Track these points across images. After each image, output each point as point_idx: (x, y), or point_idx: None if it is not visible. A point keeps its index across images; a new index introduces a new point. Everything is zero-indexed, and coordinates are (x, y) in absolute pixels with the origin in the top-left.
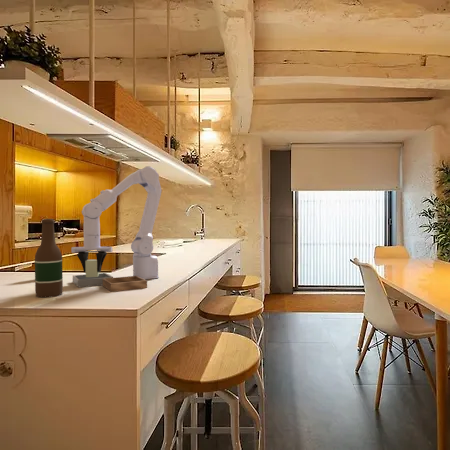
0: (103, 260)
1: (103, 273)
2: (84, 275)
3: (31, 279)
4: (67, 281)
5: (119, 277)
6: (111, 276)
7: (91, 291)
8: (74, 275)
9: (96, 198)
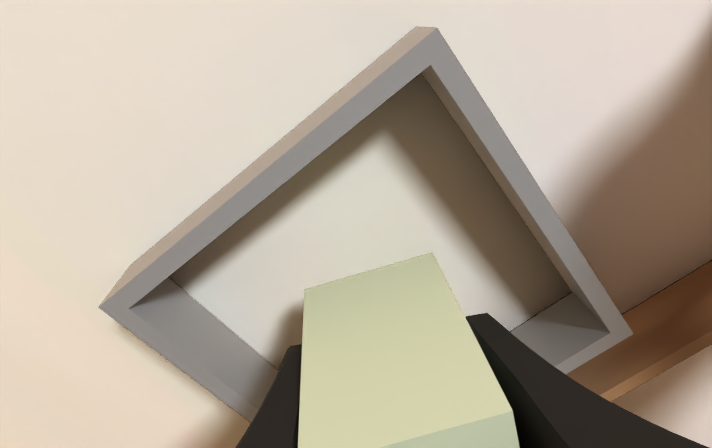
0: (609, 413)
1: (417, 72)
2: (216, 234)
3: None
4: (25, 226)
5: (700, 349)
6: (606, 307)
7: None
8: (117, 297)
9: None
